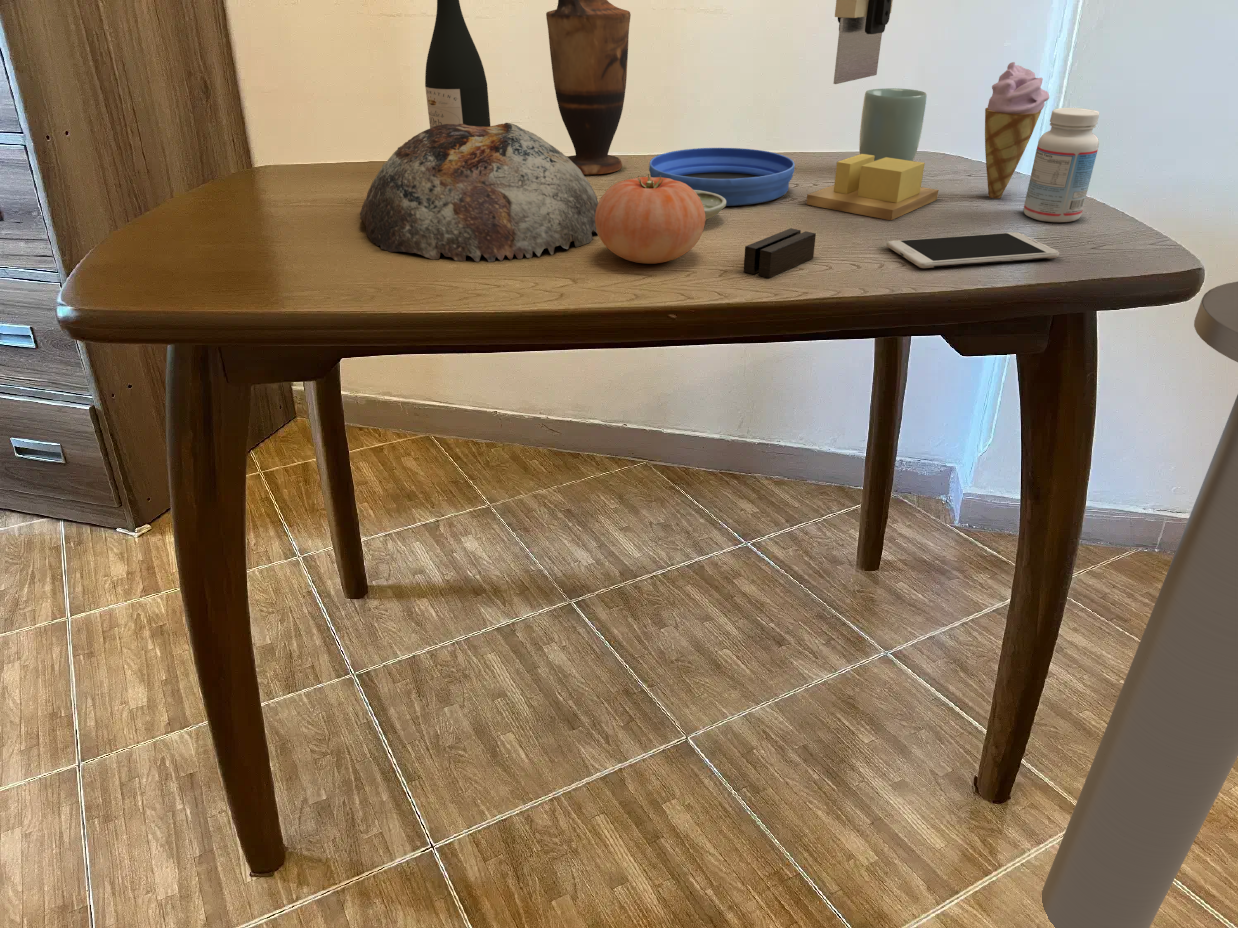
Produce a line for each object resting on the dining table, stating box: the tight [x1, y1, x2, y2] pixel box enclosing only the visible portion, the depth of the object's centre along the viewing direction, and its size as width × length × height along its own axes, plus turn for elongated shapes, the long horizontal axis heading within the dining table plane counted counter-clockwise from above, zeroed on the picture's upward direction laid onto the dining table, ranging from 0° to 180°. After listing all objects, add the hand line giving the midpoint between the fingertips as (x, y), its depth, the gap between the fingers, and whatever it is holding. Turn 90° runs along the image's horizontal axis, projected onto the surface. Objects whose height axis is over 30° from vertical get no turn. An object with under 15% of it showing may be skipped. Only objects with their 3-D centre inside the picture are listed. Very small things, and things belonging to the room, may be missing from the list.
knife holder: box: [743, 227, 817, 279], centre depth 84 cm, size 3×8×2 cm, turn 138°
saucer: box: [694, 190, 727, 221], centre depth 98 cm, size 10×10×2 cm
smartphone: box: [886, 231, 1060, 269], centre depth 87 cm, size 8×1×15 cm
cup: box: [858, 88, 928, 161], centre depth 117 cm, size 8×8×10 cm
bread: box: [359, 122, 599, 263], centre depth 98 cm, size 27×32×10 cm
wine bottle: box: [424, 0, 491, 129], centre depth 112 cm, size 8×8×30 cm
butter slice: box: [833, 153, 875, 194], centre depth 105 cm, size 2×6×4 cm, turn 138°
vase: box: [545, 0, 632, 176], centre depth 114 cm, size 11×11×30 cm
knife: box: [832, 0, 894, 85], centre depth 89 cm, size 2×9×8 cm, turn 139°
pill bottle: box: [1023, 107, 1100, 223], centre depth 96 cm, size 6×6×11 cm
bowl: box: [648, 147, 796, 207], centre depth 110 cm, size 18×18×4 cm
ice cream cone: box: [984, 61, 1050, 199], centre depth 103 cm, size 7×6×15 cm
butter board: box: [805, 184, 939, 221], centre depth 105 cm, size 11×12×1 cm
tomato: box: [595, 173, 706, 265], centre depth 85 cm, size 11×11×8 cm
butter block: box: [858, 157, 926, 203], centre depth 103 cm, size 5×6×4 cm
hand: (861, 31), depth 89 cm, fingers closed on knife, 2 cm apart
